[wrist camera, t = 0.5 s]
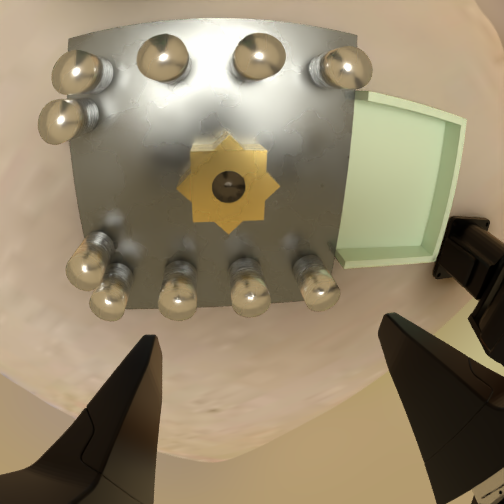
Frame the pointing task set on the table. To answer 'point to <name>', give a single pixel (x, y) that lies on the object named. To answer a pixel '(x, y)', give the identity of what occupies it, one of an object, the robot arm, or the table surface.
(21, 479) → the robot arm
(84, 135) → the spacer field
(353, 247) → the tray
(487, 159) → the table surface
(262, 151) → the gear
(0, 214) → the table surface
